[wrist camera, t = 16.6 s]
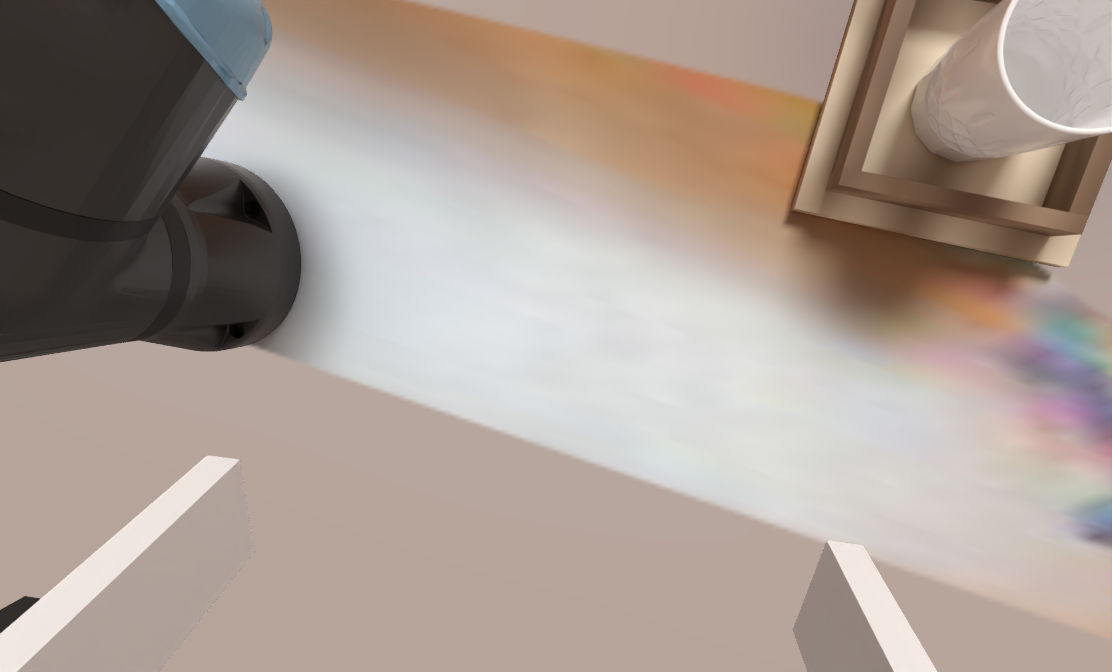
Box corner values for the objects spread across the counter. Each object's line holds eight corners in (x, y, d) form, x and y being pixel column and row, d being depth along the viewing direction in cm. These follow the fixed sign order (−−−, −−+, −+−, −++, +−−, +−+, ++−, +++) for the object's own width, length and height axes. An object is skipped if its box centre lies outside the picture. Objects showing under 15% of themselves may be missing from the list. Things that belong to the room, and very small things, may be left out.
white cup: (895, 176, 33) (991, 141, 24) (902, 41, 32) (1004, -54, 23) (1042, 168, 32) (1209, 126, 22) (1054, 26, 31) (1234, -83, 21)
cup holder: (790, 210, 36) (804, 204, 32) (869, -52, 33) (893, -89, 30) (1055, 267, 33) (1101, 267, 30) (1165, -11, 31) (1228, -46, 27)
